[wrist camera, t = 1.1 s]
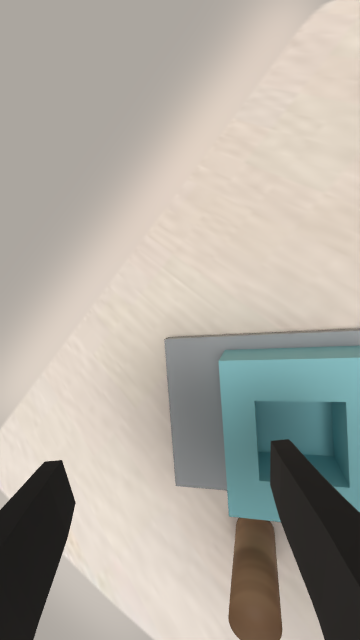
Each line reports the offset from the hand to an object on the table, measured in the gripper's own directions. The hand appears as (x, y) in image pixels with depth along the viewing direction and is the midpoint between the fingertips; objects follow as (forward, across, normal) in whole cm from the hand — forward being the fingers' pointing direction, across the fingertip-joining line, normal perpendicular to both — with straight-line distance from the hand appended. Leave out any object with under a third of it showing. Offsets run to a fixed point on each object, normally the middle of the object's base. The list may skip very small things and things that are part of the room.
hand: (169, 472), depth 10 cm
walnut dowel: (+8, -5, +16) cm, 19 cm away
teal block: (+10, -8, +6) cm, 14 cm away
